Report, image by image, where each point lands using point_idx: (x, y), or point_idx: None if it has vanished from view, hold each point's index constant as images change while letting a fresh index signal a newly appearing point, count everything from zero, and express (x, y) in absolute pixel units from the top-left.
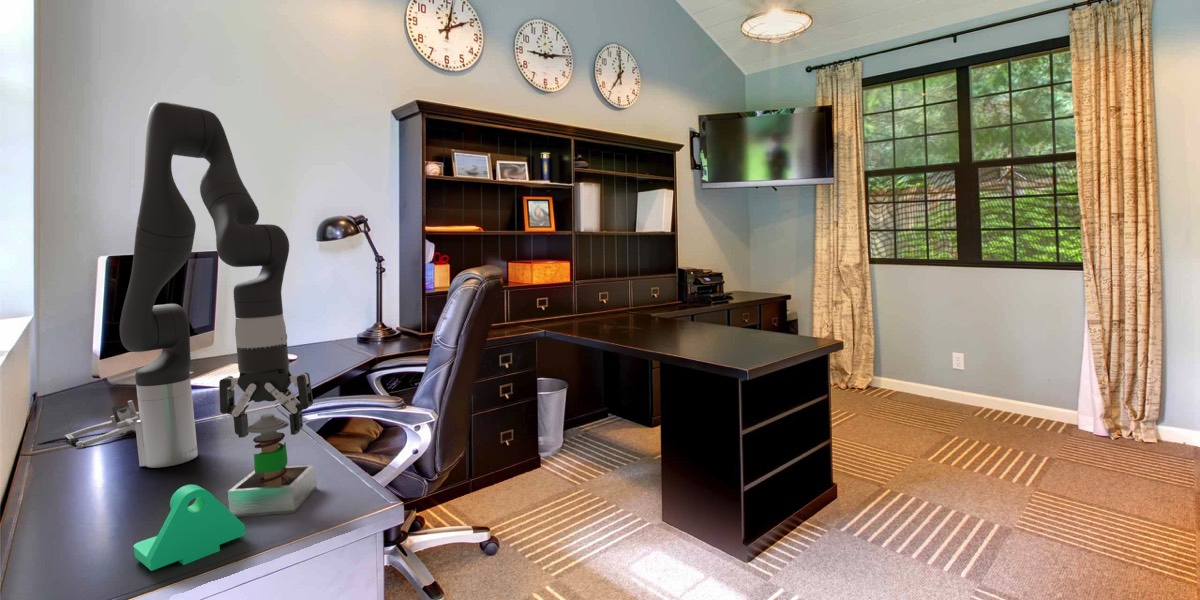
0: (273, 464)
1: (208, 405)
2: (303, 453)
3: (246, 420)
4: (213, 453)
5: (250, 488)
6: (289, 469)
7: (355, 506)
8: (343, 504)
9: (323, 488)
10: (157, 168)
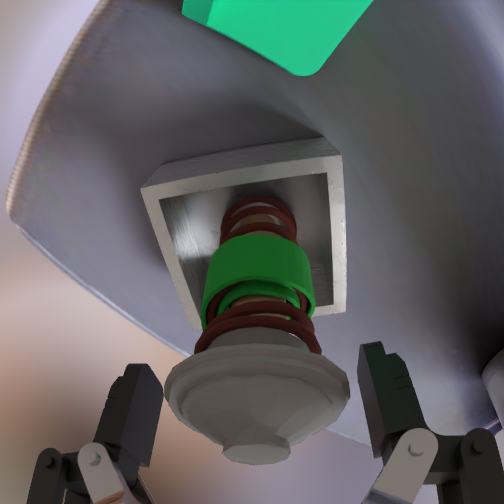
0: (221, 259)
1: None
2: None
3: (370, 425)
4: (464, 384)
5: (275, 174)
6: None
7: (57, 205)
8: (85, 212)
9: None
10: None
